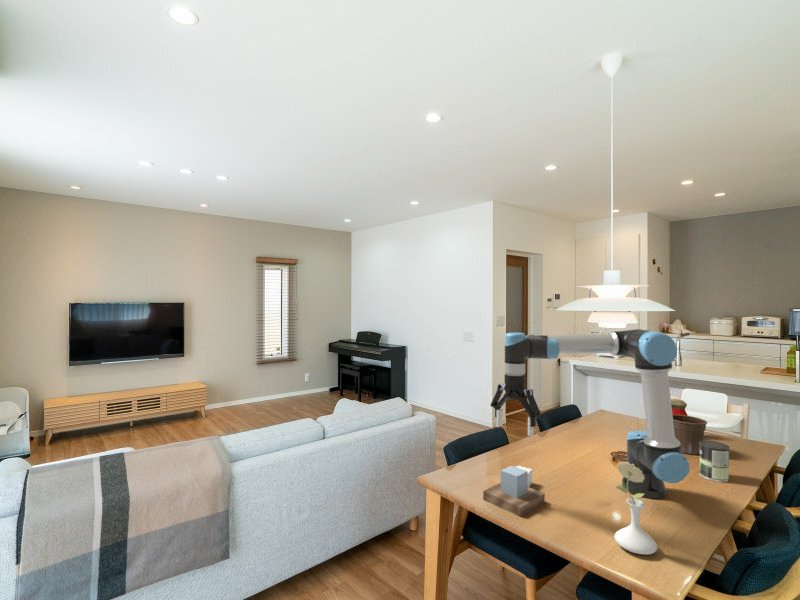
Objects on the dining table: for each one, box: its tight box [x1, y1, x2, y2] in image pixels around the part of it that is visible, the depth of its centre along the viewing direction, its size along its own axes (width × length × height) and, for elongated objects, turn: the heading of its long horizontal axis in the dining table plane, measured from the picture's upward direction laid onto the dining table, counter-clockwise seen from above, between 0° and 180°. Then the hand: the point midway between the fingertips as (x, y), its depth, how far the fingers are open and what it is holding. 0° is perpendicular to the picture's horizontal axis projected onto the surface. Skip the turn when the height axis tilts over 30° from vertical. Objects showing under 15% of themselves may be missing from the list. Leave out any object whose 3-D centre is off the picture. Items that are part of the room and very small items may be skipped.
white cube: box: [516, 465, 533, 487], centre depth 169 cm, size 6×6×6 cm
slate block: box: [500, 465, 528, 498], centre depth 155 cm, size 7×7×8 cm
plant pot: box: [672, 415, 708, 456], centre depth 209 cm, size 16×16×16 cm
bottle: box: [671, 398, 689, 416], centre depth 232 cm, size 16×14×20 cm
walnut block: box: [482, 482, 546, 517], centre depth 155 cm, size 16×16×4 cm
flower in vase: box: [614, 461, 658, 556], centre depth 127 cm, size 13×11×25 cm
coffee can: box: [698, 439, 730, 483], centre depth 177 cm, size 10×10×14 cm
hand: (514, 430), depth 155 cm, fingers open, 13 cm apart
